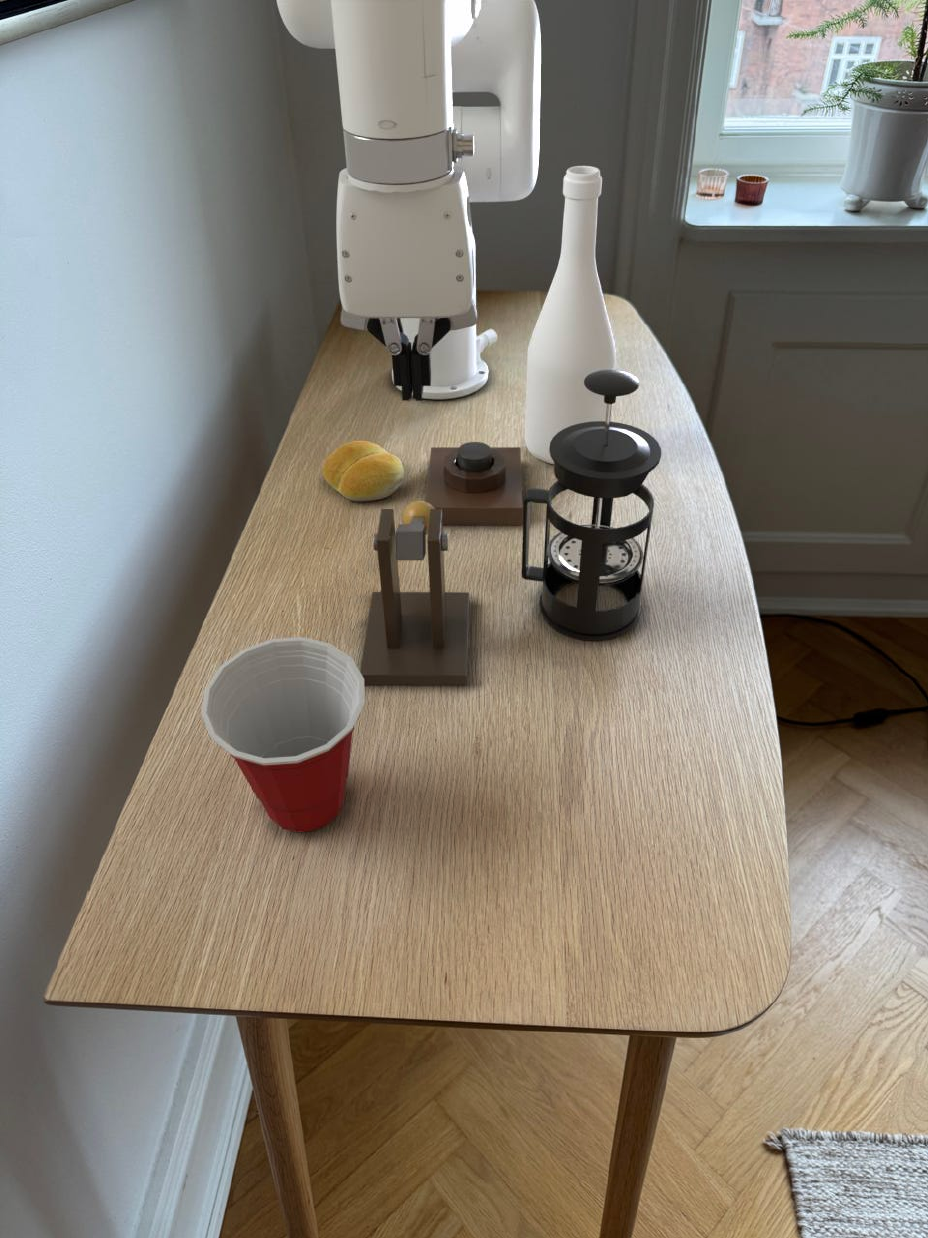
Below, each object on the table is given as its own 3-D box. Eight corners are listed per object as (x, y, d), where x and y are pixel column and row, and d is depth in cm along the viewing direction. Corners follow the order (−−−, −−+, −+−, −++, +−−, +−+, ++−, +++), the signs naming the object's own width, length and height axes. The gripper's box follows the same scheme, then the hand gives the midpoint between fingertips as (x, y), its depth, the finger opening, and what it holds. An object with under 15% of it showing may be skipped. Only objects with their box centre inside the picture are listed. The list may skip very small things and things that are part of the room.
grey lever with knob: (404, 531, 86) (404, 497, 85) (438, 531, 86) (438, 497, 85) (390, 565, 74) (389, 526, 73) (429, 565, 74) (429, 526, 73)
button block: (431, 464, 104) (430, 432, 101) (519, 464, 104) (520, 432, 101) (426, 525, 95) (424, 492, 92) (522, 525, 95) (523, 493, 92)
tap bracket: (373, 601, 86) (361, 486, 77) (469, 602, 86) (467, 486, 77) (360, 685, 78) (345, 566, 69) (466, 685, 77) (464, 566, 69)
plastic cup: (240, 882, 63) (205, 772, 55) (226, 766, 71) (194, 654, 63) (393, 844, 66) (380, 732, 58) (363, 735, 73) (348, 623, 65)
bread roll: (360, 513, 97) (357, 481, 94) (313, 479, 102) (309, 448, 99) (421, 484, 101) (419, 453, 98) (373, 453, 106) (370, 422, 103)
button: (458, 455, 98) (457, 441, 97) (491, 455, 98) (491, 441, 97) (457, 473, 96) (456, 459, 95) (491, 473, 96) (491, 459, 94)
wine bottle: (507, 447, 107) (512, 170, 87) (561, 418, 111) (578, 150, 92) (569, 478, 101) (589, 191, 82) (623, 447, 106) (654, 169, 86)
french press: (652, 583, 87) (686, 356, 72) (643, 649, 80) (680, 414, 65) (530, 567, 89) (539, 344, 74) (512, 630, 83) (518, 398, 67)
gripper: (506, 137, 66) (503, 371, 79) (301, 139, 67) (330, 371, 79) (507, 169, 61) (503, 415, 73) (283, 171, 61) (317, 415, 73)
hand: (413, 392), depth 76 cm, fingers closed
